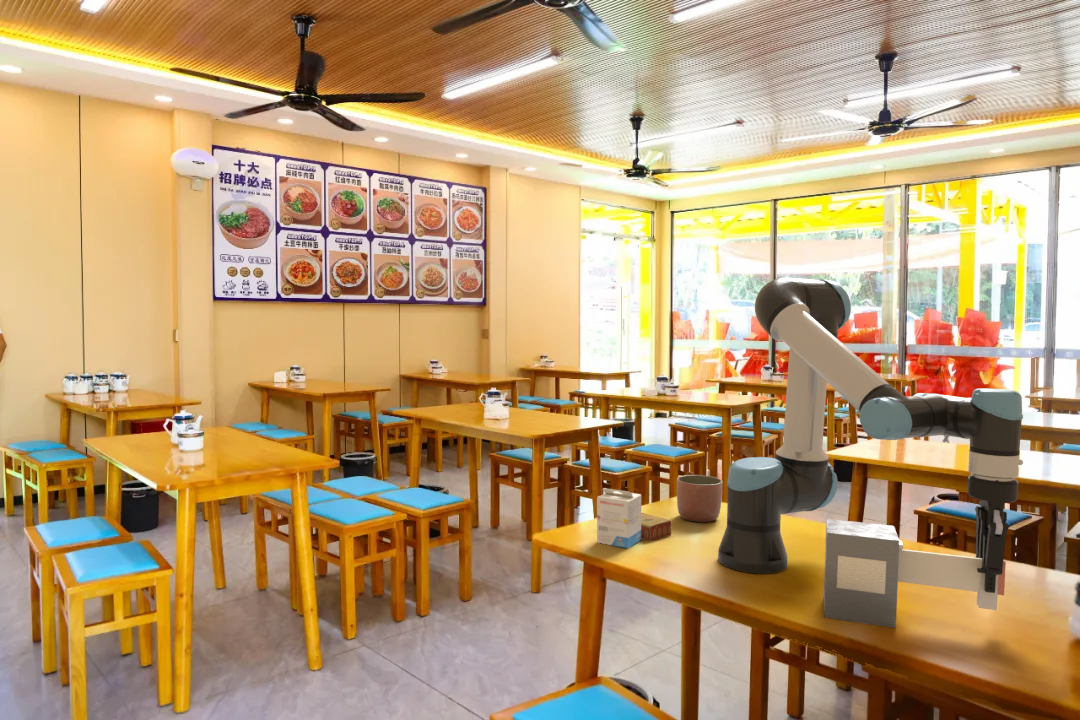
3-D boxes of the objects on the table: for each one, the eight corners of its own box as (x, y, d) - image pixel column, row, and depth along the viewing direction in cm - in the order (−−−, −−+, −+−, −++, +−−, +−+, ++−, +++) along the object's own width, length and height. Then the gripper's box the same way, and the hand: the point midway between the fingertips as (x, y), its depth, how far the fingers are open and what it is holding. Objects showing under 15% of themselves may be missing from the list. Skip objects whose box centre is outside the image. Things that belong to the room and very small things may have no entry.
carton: (649, 542, 177) (650, 525, 177) (603, 527, 189) (604, 512, 189) (671, 536, 182) (671, 519, 182) (625, 522, 194) (625, 506, 194)
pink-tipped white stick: (891, 580, 132) (892, 549, 132) (890, 579, 133) (891, 547, 132) (1004, 595, 126) (1005, 562, 125) (1003, 594, 126) (1004, 561, 126)
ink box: (642, 540, 178) (643, 487, 177) (627, 549, 170) (628, 494, 170) (611, 534, 182) (612, 482, 181) (595, 542, 175) (596, 489, 174)
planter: (676, 523, 193) (677, 483, 192) (675, 511, 205) (676, 473, 204) (723, 526, 191) (724, 485, 190) (719, 513, 203) (720, 475, 202)
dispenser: (824, 617, 132) (827, 532, 131) (823, 597, 142) (826, 518, 141) (902, 629, 127) (905, 541, 127) (896, 608, 137) (899, 526, 136)
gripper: (1028, 486, 118) (1021, 625, 119) (1008, 470, 131) (1001, 596, 132) (976, 482, 121) (969, 618, 122) (961, 467, 133) (955, 590, 135)
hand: (986, 606), depth 127 cm, fingers closed, pressing on pink-tipped white stick
